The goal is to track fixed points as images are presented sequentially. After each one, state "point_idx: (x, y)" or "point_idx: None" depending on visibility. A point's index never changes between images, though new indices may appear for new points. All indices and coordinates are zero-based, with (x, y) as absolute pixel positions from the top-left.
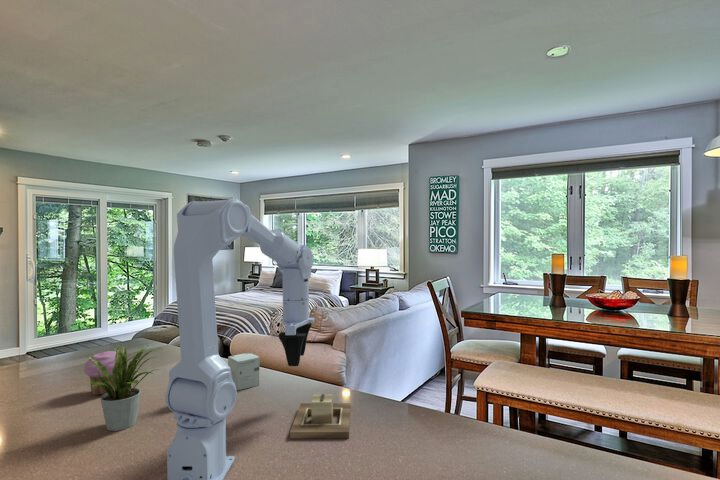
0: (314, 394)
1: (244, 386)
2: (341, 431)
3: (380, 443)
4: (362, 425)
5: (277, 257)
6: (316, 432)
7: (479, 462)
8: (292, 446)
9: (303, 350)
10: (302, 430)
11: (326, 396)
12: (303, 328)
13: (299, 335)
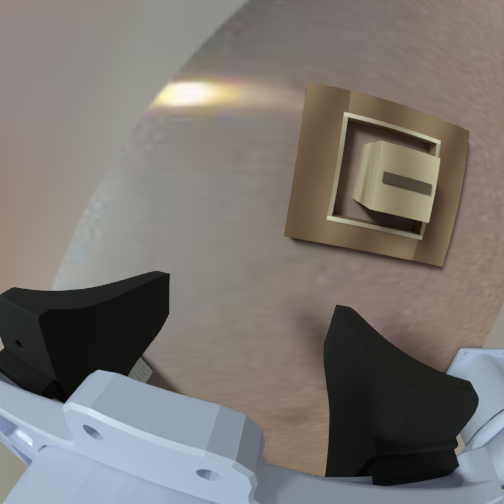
0: (370, 206)
1: (140, 362)
2: (466, 147)
3: (480, 79)
4: (411, 82)
5: None
6: (457, 205)
7: None
8: (462, 256)
9: (158, 283)
10: (444, 238)
11: (397, 166)
12: (75, 357)
13: (455, 425)
